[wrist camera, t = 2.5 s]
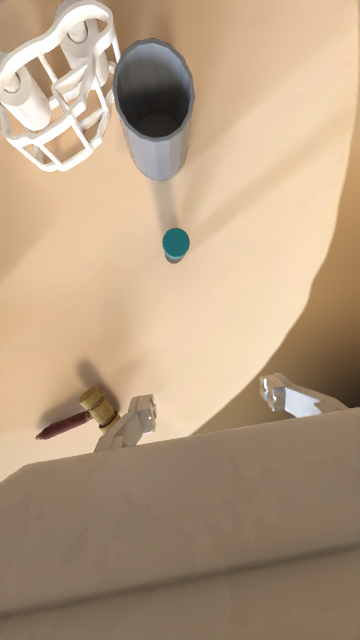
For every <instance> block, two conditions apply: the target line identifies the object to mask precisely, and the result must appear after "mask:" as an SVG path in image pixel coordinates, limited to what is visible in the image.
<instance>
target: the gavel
mask: <svg viewBox="0 0 360 640" xmlns="http://www.w3.org/2000/svg"><path fill="white" fill-rule="evenodd" d="M102 395H103V392H102V390H101V389H100V388H99V386H96V387H93V388H91V389H90V390H88V391H87V392H85V393H84V394H83V395H82V396H81V398H80V400H79V402H80V403H81V405H82V406H83V407H84V408H88V411H84V412H81V413H79V414H76V415H74V416H72V417H70V418H67V419H65V420H63V421H61V422H58V423H56V424H54V425H51V426H49V427H47V428H45V429H44V430H43V431H42V432H41V433H39V435H37V436H36V438H35V439H36V440H38V439H40V440H41V439H49V438H51V437H54V436H56V435H58V434H61V433H63V432H65V431H68V430H70V429H72V428H75V427H77V426H79V425H82V424H84V423H86V422H87V421H89V420H91V419H93V418H94V419H95V420H96V421H97V422H98V424H99V428H100V429H101V430H102V432H103V433H104V434H105V433H106V432H107V431H108V430H109V429H110V428H111V427H112V426H113V425H114V424H115V423H116V422H117V421H118V420H119V419H120V418H121V417H120V415H119V414H118V413H117V412H116V411H114V410H113V408H112V407H111V406H110V404H109V403H108V401H107V400H106V399H105V397H103V396H102Z"/></svg>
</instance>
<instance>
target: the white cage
mask: <svg viewBox="0 0 360 640" xmlns="http://www.w3.org/2000/svg"><path fill="white" fill-rule="evenodd" d="M96 19H100V20H102V21H103V22H105V23H107V27H106V28H105V29H104V30H103V31H102V32H101V33H100V30H99V27H98V23H97V21H96ZM111 43H112V44H113V48H114V52H115V56H116V60H117V63H118V61H119V59H120V57H121V53H120V48H119V44H118V39H117V35H116V28H115V23H114V19H113V14H112V11H111V10H110V9H109V8H108V7H107V6H105V5H103V4H102V3H100V2H98V1H96V0H83V1H80V0H65V1H63V2H62V3H61V4H60V5H59V6H58V7H57V10H56V13H55V15H54V24H53V25H52V27H51V28H50V29H49V30H48V31H47V32H45V33H44V34H42V35H41V36H38V37H35V38H33V39H31V40H29V41H27V42H25V43H23V44H22V45H20V46H19V47H17V48H16V49H14V50H13V51H12V52H10V53H7V52H0V122H1V130H2V134H3V136H4V137H5V138H6V139H7V140H8V141H9V142H10V143H11V144H12V145H13V146H14V147H16V148H17V149H18V150H19V151H20V152H22V153H23V154H24V155H25V156H26V157H27V158H29V159H30V160H31V161H32V162H33V163H35V164H36V165H37V166H38V167H39V168H41V169H42V170H45V171H49V172H52V171H54V170H57V169H60V170H61V171H66V170H68V169H70V168H72V167H73V166H75V165H77V164H78V163H80V162H81V161H83V160H84V159H86V158H87V157H88V156H89V155H90V154H91V153H93V152H94V150H95V148H96V147H97V146H98V145H99V144H101V143H102V141H103V134H104V131H105V129H106V127H107V125H108V122H109V119H110V111H111V105H112V103H113V101H114V95H113V90H112V89H113V88H112V89H111V90H110V91H109V92H108V94H107V96H106V98H105V97H104V94H103V92H102V89H101V87H102V86H103V85H104V84H105V83H106V81H107V79H108V76H109V73H112V74H114V70H115V67H116V65H117V64H116V63H114V62H111V61H108V58H107V55H106V51H105V49H106V48H107V47H108V46H109V45H110V44H111ZM58 44H60V46H61V48H62V50H63V52H64V54H65V56H66V59H67V61H68V63H69V65H70V67H71V69H72V70H71V71H70V72H68V73H67V74H66V75H64V76H63V77H61V78H60V79H59V80H58V79H57V77H56V75H55V74H54V72H53V70H52V68H51V67H50V65H49V63H48V61H47V60H46V58H45V56H44V53H46V52H49V51H51V50H52V49H54V48H55V47H56V46H57V45H58ZM37 56H38V58H39V60H40V61H41V63H42V65H43V66H44V68H45V70H46V71H47V73H48V75H49V76H50V78H51V80H52V81H53V84H52V86H51V90H52V93H53V96H51V97H50V98H48V99H47V97H46V96H45V94H44V93H43V91H42V90H41V89H40V87H39V86H38V84H37V83H36V81H35V80H34V78H33V77H32V75H31V74H30V72H29V71H28V69H27V68H26V67H25V65H24V64H26V63H27V62H29V61H30V60H32V59H34V58H35V57H37ZM91 89H96V91H97V94H98V96H99V99H100V101H101V104H102V107H101V108H99V109H98V110H96V111H95V112H94V113H92V114H91V115H89V116H88V117H87V118H85V119H84V120H82V121H81V122H78V121H77V119H76V118H77V116H78V115H79V114H81V113H82V112H83V111H85V109H86V107H87V98H88V95H89V92H90V90H91ZM77 96H79V98H78V99H77V100H76V101H75V102H74V103H72V104H71V105H70V107H69V105H68V104H67V101H69V100H71V99H74V98H76V97H77ZM1 103H2V104H3V105H4V106H5V107H6V108H7V109H8V110H9V111H10V112H11V113H12V114H13V115H14V116H15V117H16V118H17V119H18V120H19V121H20V122H21V123H22V124H23V125H24V126H25V131H26V133H22V134H19V135H17V136H13V132H12V127H11V124H10V121H9V118H8V115H7V113H6V110H5V109H4V107H3V105H2V104H1ZM59 105H60V106H61V108H62V110H63V112H64V115H63V116H62V117H61V118H60V119H59V120H57V121H56V122H54V123H53V124H51V125H50V126H48V127H47V128H45V127H46V126H47V125H48V124H49V121H50V119H51V110H53V109H54V108H56V107H57V106H59ZM100 120H101V121H100ZM98 121H100V123H99V126H98V132H97V135H96V136H95V137H94V138H93V139H92V140H90V142H89V143H88V141H87V139H86V138H85V136H84V134H83V132H84V131H85V130H87V129H88V128H90V127H91V126H93V125H94V124H95V123H97V122H98ZM70 126H72V127H73V129H74V130H75V132H76V133H77V135H78V136H79V138H80V139H81V141H82V143H83V144H84V146H85V148H84V149H83V150H82V151H81V152H79V153H78V154H76V155H75V156H73V157H71V158H70V159H68V160H67V161H65V162H64V161H63V162H60V161H59V159H58V158H57V157H56V156H55V155H54V154H53V153H52V152H51V151H50V150H49V149H48V148H47V147H46V146H45V145H44V143H46V142H48V141H50V140H51V139H53V138H54V137H56V136H58V135H59V134H61V133H62V132H63V131H65V130H66V129H68V128H69V127H70ZM43 128H45V129H44V130H42V131H40V132H36V133H34V132H35V131H36V130H41V129H43ZM31 143H32V145H33V148H34V151H35V155H36V158H35V157H34V156H33V155H32V154H31V153H30V152H29V151H27V150H26V149H25V148H24V147H23V146H25V145H27V144H31ZM40 148H41V149H42V150H43V151H44V152H45V153H46V154H47V155H48V156H49V157H50V158H51V159H52V160H53V161H54V162H51V163H48V164H44V163H43V156H42V152H41V149H40Z"/></svg>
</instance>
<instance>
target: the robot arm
mask: <svg viewBox="0 0 360 640" xmlns="http://www.w3.org/2000/svg"><path fill="white" fill-rule="evenodd" d="M260 383H261V386H260V393H261V395H262V397H263V399H264V400H266V401H268V405H269V406H270V408H271V409H272V410H273V411H277V410H286V411H288V412H290V413H291V414H293V415H294V416H296V417H298V418H293V419H287V420H281V421H276V422H270V423H264V424H258V425H253V426H247V427H241V428H235V429H229V430H223V431H218V432H212V433H206V434H201V435H195V436H188V437H183V438H177V439H171V440H165V441H159V442H153V443H148V444H142V445H136V444H137V443H138V441H139V440H140V438H141V437H142V435H143V434H144V433H149V432H154V431H155V426H156V422H155V419H156V405H155V403H154V396H153V394H151V395H143V396H137V397H133V398H132V400H131V403H130V407H129V410H128V413H126V414H125V415H124V416H123V417H121V418H120V419H119V420H118V421H117V422H116V423H115V424H114V425H113V426H112V427H111V428H110V429H109V430H108V431H107V432H106V433H105V434H104V435H103V436H101V437H100V438H99V441H98V443H97V445H96V448H95V450H94V452H93V453H89V454H84V455H78V456H72V457H66V458H60V459H55V460H49V461H42V462H35V463H31V464H28V465H25V466H23V467H22V468H20V469H19V470H17V471H16V472H14V473H13V474H11V475H10V476H8V477H7V478H6V479H4V480H3V481H2V482H0V640H360V407H357V408H352V409H349V408H348V407H346V406H345V405H344V404H342V403H341V402H340V401H338V400H336V399H335V398H333V397H330V396H327V395H324V394H321V393H318V392H315V391H312V390H309V389H307V388H304V387H301V386H298V385H294V384H293V383H291V382H290V381H289V380H288V379H287V378H285V377H284V376H283V375H282V374H281V373H277V374H273V375H268V376H262V377H260Z"/></svg>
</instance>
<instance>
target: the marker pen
mask: <svg viewBox="0 0 360 640" xmlns="http://www.w3.org/2000/svg"><path fill="white" fill-rule="evenodd" d="M189 244H190V242H189V237H188V235H187V234H186V232H185V231H183V230H182V229H179V228H173V229H170V230H168V231H167V232H166V233H165V235H164V237H163V249H164V252H165V256H166V259H167V260H168V261H169V262H170V263H178V262H179V261H180V260H181V259H182V257H183V256H184V255H185V254H186V252H187V251H188V248H189Z"/></svg>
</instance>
